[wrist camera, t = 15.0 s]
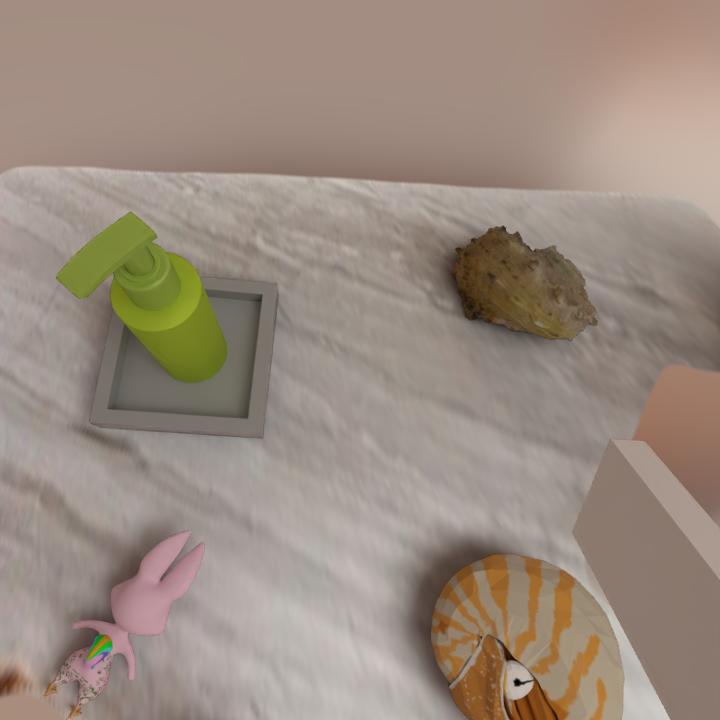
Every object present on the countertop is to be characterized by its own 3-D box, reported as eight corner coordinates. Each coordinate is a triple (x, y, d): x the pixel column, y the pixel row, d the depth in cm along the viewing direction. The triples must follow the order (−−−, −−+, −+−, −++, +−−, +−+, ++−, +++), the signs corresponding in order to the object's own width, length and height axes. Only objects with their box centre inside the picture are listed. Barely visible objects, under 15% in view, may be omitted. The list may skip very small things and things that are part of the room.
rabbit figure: (105, 717, 40) (232, 558, 42) (62, 763, 34) (211, 576, 36) (47, 663, 41) (174, 509, 43) (-6, 699, 35) (145, 518, 37)
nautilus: (605, 845, 40) (415, 836, 40) (594, 554, 45) (425, 543, 45) (670, 930, 33) (434, 920, 32) (647, 568, 38) (445, 555, 37)
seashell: (556, 373, 53) (625, 343, 43) (427, 318, 51) (468, 274, 42) (577, 282, 56) (644, 236, 47) (456, 229, 55) (501, 170, 45)
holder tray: (278, 295, 50) (277, 283, 48) (262, 438, 46) (260, 434, 44) (130, 281, 49) (121, 269, 47) (100, 427, 45) (88, 422, 42)
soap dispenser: (137, 362, 46) (24, 249, 27) (194, 309, 48) (126, 170, 29) (185, 405, 45) (102, 319, 26) (240, 349, 47) (201, 234, 28)
